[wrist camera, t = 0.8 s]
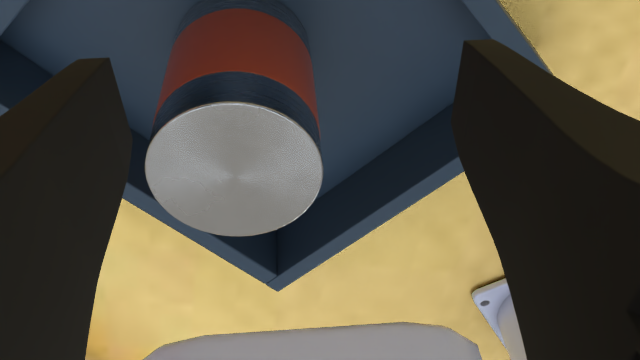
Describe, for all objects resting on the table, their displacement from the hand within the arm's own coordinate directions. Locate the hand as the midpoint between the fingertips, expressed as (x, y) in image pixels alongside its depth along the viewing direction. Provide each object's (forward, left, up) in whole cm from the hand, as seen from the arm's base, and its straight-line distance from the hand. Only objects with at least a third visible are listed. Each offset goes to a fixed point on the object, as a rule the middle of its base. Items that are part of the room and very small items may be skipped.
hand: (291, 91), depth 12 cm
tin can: (-3, +4, -9) cm, 10 cm away
